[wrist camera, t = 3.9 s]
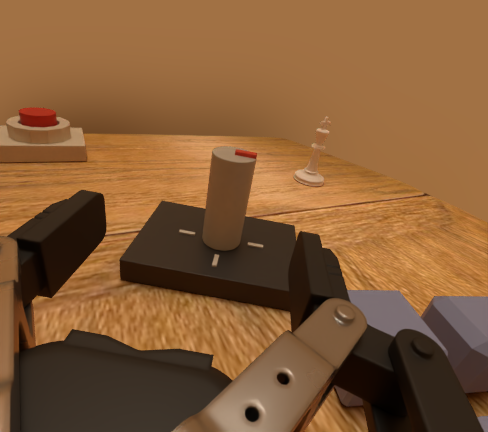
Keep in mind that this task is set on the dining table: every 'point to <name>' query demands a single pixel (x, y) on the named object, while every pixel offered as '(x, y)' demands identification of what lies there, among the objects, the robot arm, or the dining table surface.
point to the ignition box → (41, 142)
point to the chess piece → (314, 159)
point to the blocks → (434, 332)
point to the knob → (227, 196)
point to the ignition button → (37, 117)
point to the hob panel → (211, 258)
